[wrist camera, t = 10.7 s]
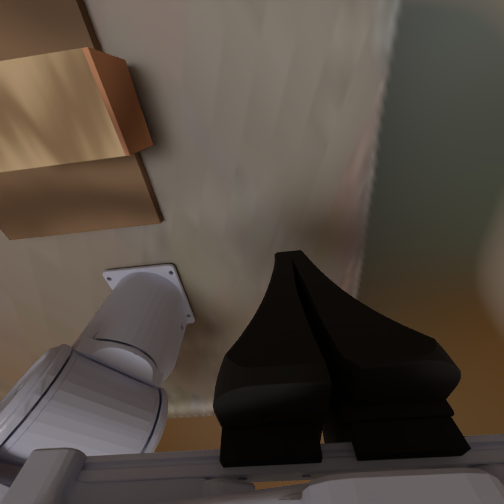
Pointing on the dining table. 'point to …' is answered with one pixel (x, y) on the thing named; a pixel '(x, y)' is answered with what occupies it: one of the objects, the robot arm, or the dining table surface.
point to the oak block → (68, 110)
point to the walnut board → (72, 174)
